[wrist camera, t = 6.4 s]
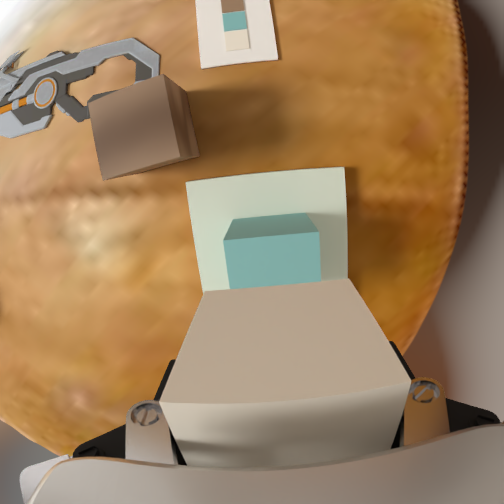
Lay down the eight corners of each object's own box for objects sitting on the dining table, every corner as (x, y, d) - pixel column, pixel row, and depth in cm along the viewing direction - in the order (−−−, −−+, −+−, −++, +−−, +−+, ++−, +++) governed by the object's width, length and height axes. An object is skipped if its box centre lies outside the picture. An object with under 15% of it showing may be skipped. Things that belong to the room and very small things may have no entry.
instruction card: (195, -8, 18) (194, -9, 18) (266, -17, 18) (266, -19, 18) (201, 69, 21) (200, 68, 20) (278, 60, 20) (278, 59, 20)
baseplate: (188, 181, 24) (185, 182, 23) (340, 166, 23) (344, 167, 22) (210, 316, 27) (208, 322, 26) (344, 305, 26) (347, 310, 25)
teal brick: (232, 219, 23) (222, 240, 18) (305, 212, 23) (319, 231, 17) (241, 285, 25) (234, 323, 19) (309, 279, 25) (321, 316, 19)
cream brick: (204, 290, 12) (159, 401, 6) (349, 278, 11) (411, 380, 6) (225, 395, 13) (208, 505, 8) (343, 386, 13) (372, 492, 7)
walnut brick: (124, 112, 22) (88, 103, 16) (186, 91, 21) (163, 73, 16) (137, 173, 24) (103, 180, 18) (200, 156, 23) (180, 156, 17)
